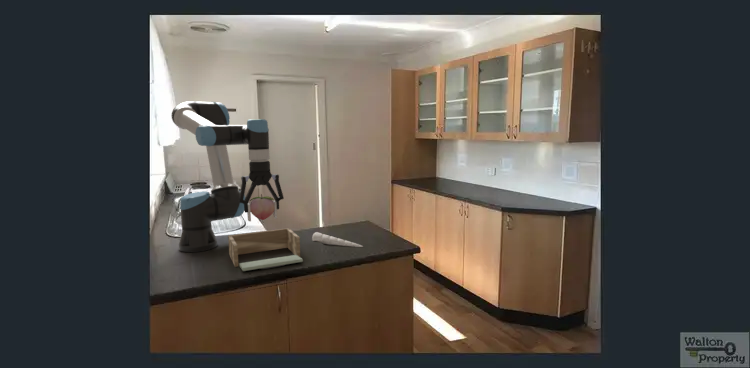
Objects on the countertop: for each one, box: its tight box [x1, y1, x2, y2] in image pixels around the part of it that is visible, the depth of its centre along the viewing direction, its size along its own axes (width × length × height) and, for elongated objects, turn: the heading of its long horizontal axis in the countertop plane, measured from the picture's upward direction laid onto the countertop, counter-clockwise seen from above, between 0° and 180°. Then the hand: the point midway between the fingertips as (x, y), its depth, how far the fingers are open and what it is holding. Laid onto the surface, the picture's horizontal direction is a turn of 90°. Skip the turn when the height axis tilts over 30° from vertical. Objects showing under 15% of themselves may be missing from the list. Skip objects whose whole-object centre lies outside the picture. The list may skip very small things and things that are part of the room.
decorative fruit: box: [249, 193, 275, 221], centre depth 158 cm, size 9×8×10 cm
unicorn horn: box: [311, 231, 364, 248], centre depth 178 cm, size 5×24×5 cm, turn 64°
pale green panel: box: [238, 254, 304, 272], centre depth 149 cm, size 2×21×8 cm
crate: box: [227, 227, 301, 268], centre depth 160 cm, size 16×24×9 cm, turn 116°
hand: (262, 219), depth 158 cm, fingers closed on decorative fruit, 9 cm apart
